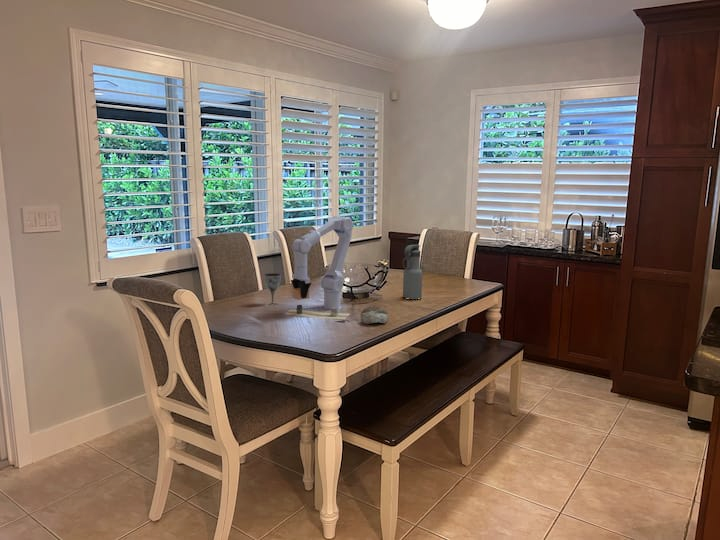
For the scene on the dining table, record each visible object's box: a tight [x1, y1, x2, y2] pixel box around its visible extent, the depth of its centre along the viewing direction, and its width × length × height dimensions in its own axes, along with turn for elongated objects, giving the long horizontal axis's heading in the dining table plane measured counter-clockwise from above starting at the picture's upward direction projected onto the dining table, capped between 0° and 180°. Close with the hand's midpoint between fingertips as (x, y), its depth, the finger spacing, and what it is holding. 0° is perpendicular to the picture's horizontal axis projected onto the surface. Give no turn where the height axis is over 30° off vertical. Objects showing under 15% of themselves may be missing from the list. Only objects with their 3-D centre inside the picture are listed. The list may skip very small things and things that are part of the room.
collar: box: [291, 287, 310, 301], centre depth 240 cm, size 6×6×4 cm
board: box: [282, 304, 351, 324], centre depth 240 cm, size 12×28×5 cm, turn 79°
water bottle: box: [402, 244, 423, 299], centre depth 280 cm, size 10×10×28 cm
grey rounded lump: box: [360, 305, 389, 325], centre depth 233 cm, size 14×9×10 cm
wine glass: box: [263, 272, 282, 307], centre depth 261 cm, size 8×8×15 cm
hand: (300, 296), depth 240 cm, fingers closed on collar, 6 cm apart
